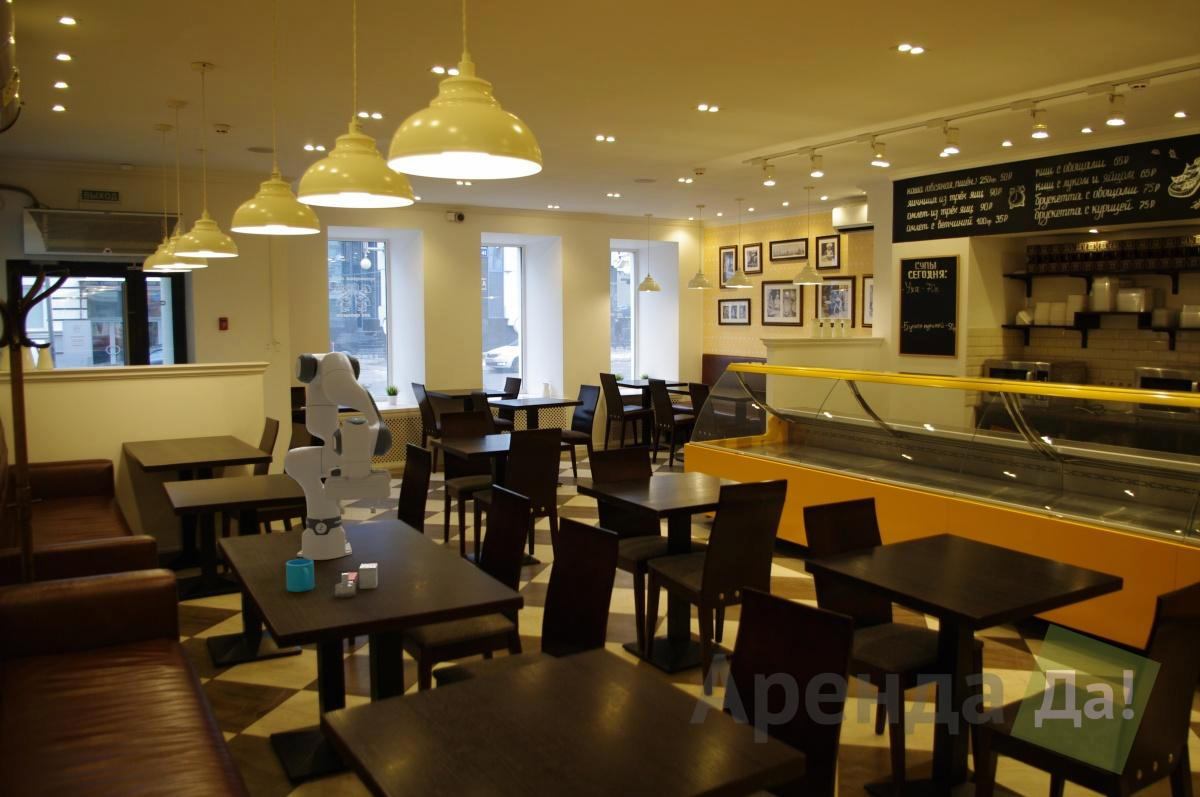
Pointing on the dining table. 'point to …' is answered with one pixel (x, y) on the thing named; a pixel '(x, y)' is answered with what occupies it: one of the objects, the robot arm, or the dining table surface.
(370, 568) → the brushed steel block
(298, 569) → the mug
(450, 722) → the dining table surface
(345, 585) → the ratchet
